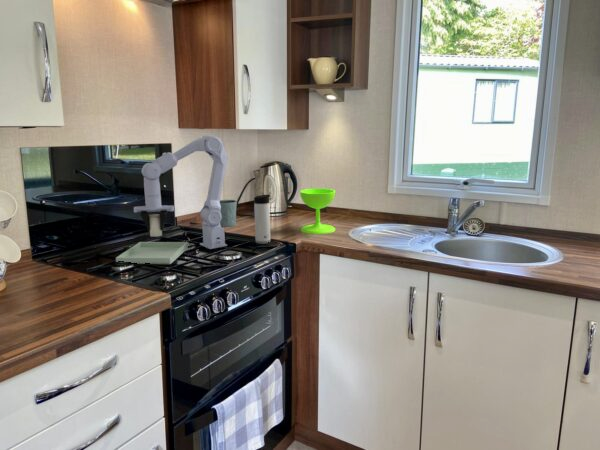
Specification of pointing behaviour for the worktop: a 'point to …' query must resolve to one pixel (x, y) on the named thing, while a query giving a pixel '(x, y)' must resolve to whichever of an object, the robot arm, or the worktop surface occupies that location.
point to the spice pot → (155, 225)
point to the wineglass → (317, 208)
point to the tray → (153, 252)
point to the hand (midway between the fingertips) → (155, 230)
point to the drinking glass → (228, 213)
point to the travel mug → (262, 219)
